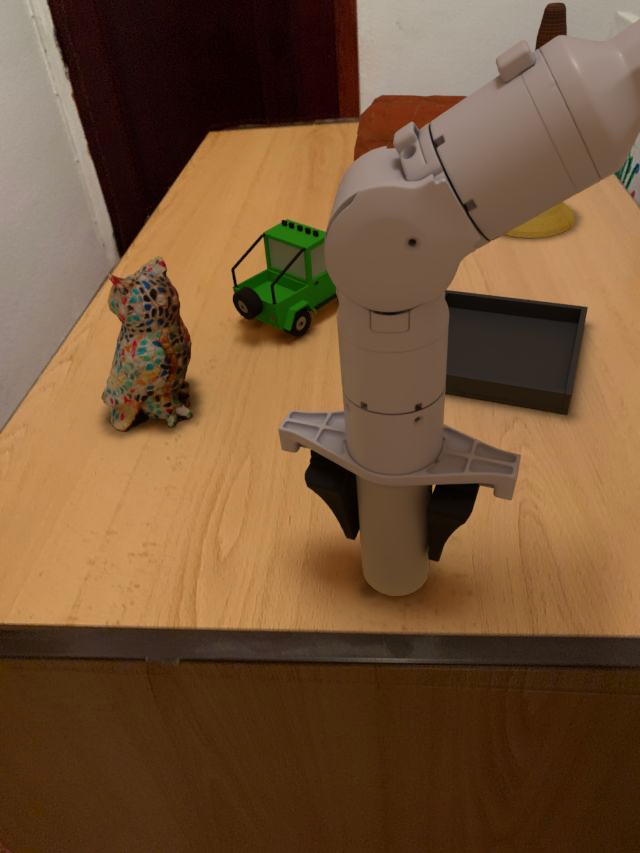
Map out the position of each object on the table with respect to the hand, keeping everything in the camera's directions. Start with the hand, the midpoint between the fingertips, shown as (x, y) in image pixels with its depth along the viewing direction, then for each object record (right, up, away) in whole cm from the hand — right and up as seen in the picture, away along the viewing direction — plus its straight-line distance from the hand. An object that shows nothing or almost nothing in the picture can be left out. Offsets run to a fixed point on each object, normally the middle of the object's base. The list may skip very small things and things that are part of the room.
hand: (395, 538), depth 45 cm
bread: (+14, +49, +60) cm, 79 cm away
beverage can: (0, -3, +3) cm, 4 cm away
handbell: (+23, +36, +45) cm, 62 cm away
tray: (+13, +15, +22) cm, 29 cm away
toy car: (-7, +21, +31) cm, 38 cm away
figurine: (-21, +10, +20) cm, 31 cm away
